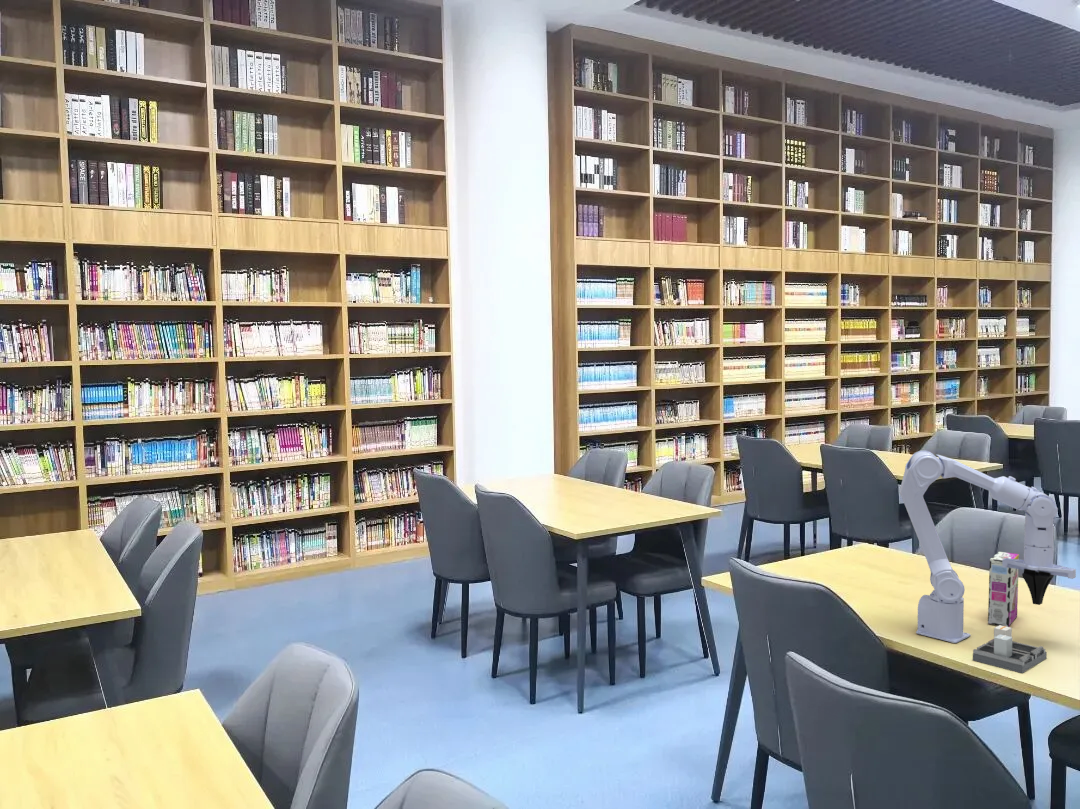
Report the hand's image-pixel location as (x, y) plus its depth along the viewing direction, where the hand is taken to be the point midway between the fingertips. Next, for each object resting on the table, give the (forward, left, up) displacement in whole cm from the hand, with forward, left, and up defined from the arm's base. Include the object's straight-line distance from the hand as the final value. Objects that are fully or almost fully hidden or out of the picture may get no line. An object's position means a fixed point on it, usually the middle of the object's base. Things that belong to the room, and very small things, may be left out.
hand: (1037, 603), depth 189 cm
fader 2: (0, -18, -8) cm, 20 cm away
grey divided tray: (0, -15, -9) cm, 18 cm away
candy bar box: (-12, +12, -10) cm, 20 cm away
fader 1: (-3, -12, -8) cm, 15 cm away
